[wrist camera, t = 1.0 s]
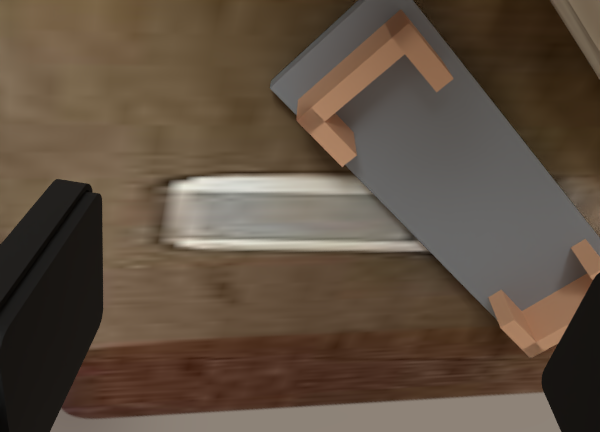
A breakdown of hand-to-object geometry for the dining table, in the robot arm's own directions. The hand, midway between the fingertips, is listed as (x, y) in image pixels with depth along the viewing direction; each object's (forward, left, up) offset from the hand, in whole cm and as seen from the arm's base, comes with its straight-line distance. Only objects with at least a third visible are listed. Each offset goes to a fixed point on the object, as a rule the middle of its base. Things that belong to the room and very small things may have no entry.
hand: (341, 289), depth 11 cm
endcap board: (+1, +17, -29) cm, 33 cm away
